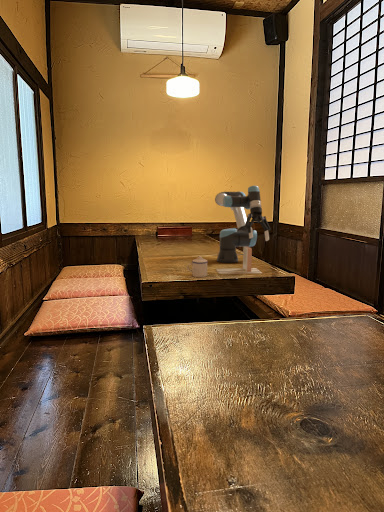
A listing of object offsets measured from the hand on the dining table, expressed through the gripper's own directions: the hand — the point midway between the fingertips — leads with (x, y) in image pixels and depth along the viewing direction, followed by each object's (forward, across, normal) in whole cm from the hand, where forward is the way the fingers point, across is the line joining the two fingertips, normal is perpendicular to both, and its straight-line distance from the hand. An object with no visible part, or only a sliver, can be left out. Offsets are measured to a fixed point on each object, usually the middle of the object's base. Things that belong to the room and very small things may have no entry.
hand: (259, 239), depth 232 cm
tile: (+19, -8, +6) cm, 22 cm away
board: (+20, -13, +9) cm, 26 cm away
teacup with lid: (+24, -41, +13) cm, 49 cm away
